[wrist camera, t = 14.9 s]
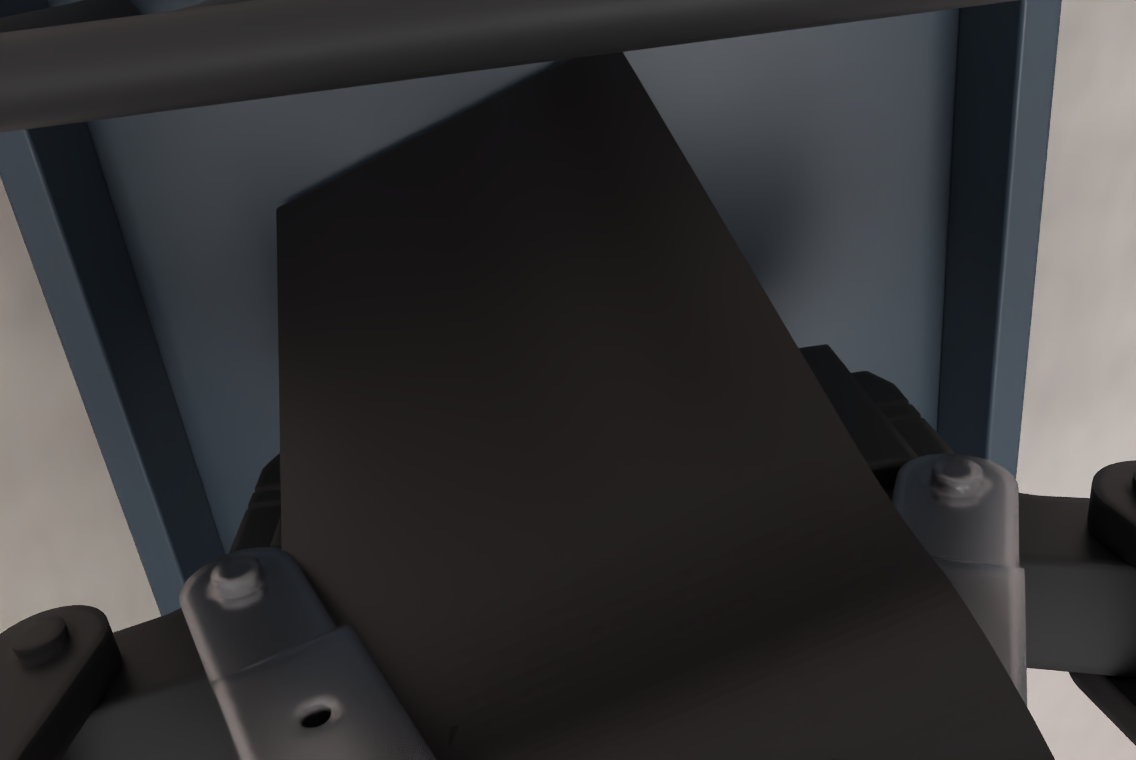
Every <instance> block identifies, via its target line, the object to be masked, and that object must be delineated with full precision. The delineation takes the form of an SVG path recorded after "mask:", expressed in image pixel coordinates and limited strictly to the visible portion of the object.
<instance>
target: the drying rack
mask: <svg viewBox="0 0 1136 760" xmlns="http://www.w3.org/2000/svg"><path fill="white" fill-rule="evenodd" d="M1061 2H1062V0H0V176H1V179H2V182H3V185H4V187H5V190H6V193H7V196H8V198H9V201H10V204H11V206H12V209H13V212H14V215H15V217H16V220H17V223H18V226H19V228H20V231H21V234H22V237H23V239H24V242H25V245H26V247H27V250H28V253H29V256H30V258H31V261H32V264H33V267H34V269H35V272H36V275H37V277H38V280H39V283H40V286H41V288H42V291H43V294H44V297H45V299H46V302H47V305H48V308H49V310H50V313H51V316H52V318H53V321H54V324H55V327H56V329H57V332H58V335H59V338H60V340H61V343H62V346H63V348H64V351H65V354H66V357H67V359H68V362H69V365H70V368H71V370H72V373H73V376H74V379H75V381H76V384H77V387H78V389H79V392H80V395H81V398H82V400H83V403H84V406H85V409H86V411H87V414H88V417H89V419H90V422H91V425H92V428H93V430H94V433H95V436H96V439H97V441H98V444H99V447H100V450H101V452H102V455H103V458H104V460H105V463H106V466H107V469H108V471H109V474H110V477H111V480H112V482H113V485H114V488H115V490H116V493H117V496H118V499H119V501H120V504H121V507H122V510H123V512H124V515H125V518H126V521H127V523H128V526H129V529H130V531H131V534H132V537H133V540H134V542H135V545H136V548H137V551H138V553H139V556H140V559H141V562H142V564H143V567H144V570H145V572H146V575H147V578H148V581H149V583H150V586H151V589H152V592H153V594H154V597H155V600H156V602H157V605H158V608H159V611H160V613H161V616H164V615H166V614H169V613H171V612H173V611H175V610H178V609H180V608H181V606H180V601H179V596H180V591H181V589H182V587H183V585H184V584H185V582H186V581H187V580H188V579H189V578H190V577H191V575H192V574H194V573H195V572H196V571H197V570H198V569H200V568H201V567H203V566H204V565H206V564H207V563H209V562H211V561H213V560H215V559H217V558H219V557H221V556H224V555H226V554H229V552H230V549H231V547H232V544H233V542H234V539H235V537H236V534H237V532H238V529H239V527H240V524H241V522H242V519H243V517H244V514H245V512H246V510H248V504H249V502H250V499H251V497H252V494H253V493H255V487H256V484H257V482H258V479H259V477H260V474H261V472H262V469H263V468H264V467H265V466H266V465H267V464H268V463H269V462H270V461H271V460H272V459H274V458H275V457H276V456H277V455H278V454H279V453H280V419H279V355H278V292H277V228H276V209H277V208H278V207H280V206H282V205H284V204H286V203H288V202H290V201H292V200H294V199H296V198H298V197H300V196H302V195H304V194H306V193H307V192H309V191H311V190H313V189H315V188H317V187H319V186H321V185H323V184H325V183H327V182H329V181H331V180H333V179H335V178H337V177H339V176H341V175H343V174H345V173H347V172H349V171H351V170H353V169H354V168H356V167H358V166H360V165H362V164H364V163H366V162H368V161H370V160H372V159H374V158H376V157H378V156H380V155H382V154H384V153H386V152H388V151H390V150H392V149H394V148H396V147H398V146H400V145H402V144H403V143H405V142H407V141H409V140H411V139H413V138H415V137H417V136H419V135H421V134H423V133H425V132H427V131H429V130H431V129H433V128H435V127H437V126H439V125H441V124H443V123H445V122H447V121H449V120H451V119H452V118H454V117H456V116H458V115H460V114H462V113H464V112H466V111H468V110H470V109H472V108H474V107H476V106H478V105H480V104H482V103H484V102H486V101H488V100H490V99H492V98H494V97H496V96H498V95H499V94H501V93H503V92H505V91H507V90H509V89H511V88H513V87H515V86H517V85H519V84H521V83H523V82H525V81H527V80H529V79H531V78H533V77H535V76H537V75H539V74H541V73H543V72H545V71H547V70H548V69H550V68H552V67H554V66H556V65H558V64H560V63H562V62H564V61H566V60H568V59H572V58H579V57H587V56H595V55H602V54H610V53H618V52H623V53H624V55H625V56H626V58H627V60H628V61H629V63H630V65H631V66H632V68H633V70H634V71H635V73H636V75H637V76H638V78H639V80H640V82H641V83H642V85H643V87H644V88H645V90H646V92H647V93H648V95H649V97H650V98H651V100H652V102H653V103H654V105H655V107H656V108H657V110H658V112H659V114H660V115H661V117H662V119H663V120H664V122H665V124H666V125H667V127H668V129H669V130H670V132H671V134H672V135H673V137H674V139H675V141H676V142H677V144H678V146H679V147H680V149H681V151H682V152H683V154H684V156H685V157H686V159H687V161H688V162H689V164H690V166H691V168H692V169H693V171H694V173H695V174H696V176H697V178H698V179H699V181H700V183H701V184H702V186H703V188H704V189H705V191H706V193H707V195H708V196H709V198H710V200H711V201H712V203H713V205H714V206H715V208H716V210H717V211H718V213H719V215H720V216H721V218H722V220H723V222H724V223H725V225H726V227H727V228H728V230H729V232H730V233H731V235H732V237H733V238H734V240H735V242H736V243H737V245H738V247H739V249H740V250H741V252H742V254H743V255H744V257H745V259H746V260H747V262H748V264H749V265H750V267H751V269H752V270H753V272H754V274H755V276H756V277H757V279H758V281H759V282H760V284H761V286H762V287H763V289H764V291H765V292H766V294H767V296H768V297H769V299H770V301H771V303H772V304H773V306H774V308H775V309H776V311H777V313H778V314H779V316H780V318H781V319H782V321H783V323H784V324H785V326H786V328H787V330H788V331H789V333H790V335H791V336H792V338H793V340H794V341H795V343H796V345H797V346H798V348H801V347H809V346H816V345H824V344H827V345H829V346H830V347H831V349H832V350H833V351H834V352H835V354H836V355H837V356H838V357H839V358H840V360H841V361H842V362H843V363H844V365H845V366H846V367H847V368H848V370H849V371H850V372H851V373H853V372H860V371H869V372H871V373H873V374H875V375H877V376H879V377H881V378H883V379H885V380H887V381H889V382H891V383H894V384H895V386H896V387H897V388H898V389H899V390H900V391H901V392H902V394H903V395H904V396H905V397H906V398H907V399H908V400H909V404H912V405H913V406H914V407H915V408H916V409H917V411H918V412H919V413H920V414H921V418H924V419H925V420H926V421H927V422H928V423H929V424H930V425H931V427H932V428H933V429H934V430H935V431H936V432H937V433H938V435H939V436H940V437H941V438H942V439H943V440H944V441H945V443H946V444H947V445H948V446H949V447H950V448H951V449H952V451H953V452H954V453H956V454H965V455H971V456H976V457H980V458H983V459H987V460H989V461H992V462H994V463H996V464H998V465H1000V466H1002V467H1004V468H1005V469H1006V470H1008V471H1009V472H1010V473H1011V474H1012V475H1013V476H1014V477H1015V479H1016V472H1017V462H1018V451H1019V441H1020V431H1021V420H1022V410H1023V399H1024V389H1025V378H1026V368H1027V357H1028V347H1029V337H1030V326H1031V316H1032V305H1033V295H1034V284H1035V274H1036V263H1037V253H1038V242H1039V232H1040V222H1041V211H1042V201H1043V190H1044V180H1045V169H1046V159H1047V148H1048V138H1049V127H1050V117H1051V107H1052V96H1053V86H1054V75H1055V65H1056V54H1057V44H1058V33H1059V23H1060V12H1061Z"/></svg>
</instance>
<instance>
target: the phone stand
mask: <svg viewBox="0 0 1136 760" xmlns="http://www.w3.org/2000/svg"><path fill="white" fill-rule="evenodd" d="M276 228H277V292H278V355H279V419H280V482H281V546H282V550H283V551H286V552H288V553H289V554H291V555H292V556H293V557H294V559H295V560H296V562H297V563H298V565H299V567H300V568H301V570H302V571H303V573H304V575H305V576H306V578H307V580H308V581H309V583H310V584H311V586H312V588H313V589H314V591H315V593H316V594H317V596H318V597H319V599H320V601H321V602H322V604H323V606H324V607H325V609H326V611H327V612H328V614H329V615H330V617H331V619H332V620H333V622H334V624H335V625H336V627H340V626H342V625H344V624H349V625H350V626H351V627H352V628H353V629H354V631H355V632H356V634H357V635H358V637H359V638H360V640H361V641H362V643H363V645H364V646H365V648H366V649H367V651H368V652H369V654H370V656H371V657H372V659H373V660H374V662H375V663H376V665H377V667H378V668H379V670H380V671H381V673H382V674H383V676H384V678H385V679H386V681H387V682H388V684H389V685H390V687H391V689H392V690H393V692H394V693H395V695H396V696H397V698H398V699H399V701H400V703H401V704H402V706H403V707H404V709H405V710H406V712H407V714H408V715H409V717H410V718H411V720H412V721H413V723H414V725H415V726H416V728H417V729H418V731H419V732H420V734H421V736H422V737H423V739H424V740H425V742H426V743H427V745H428V747H429V748H430V750H431V751H432V753H433V754H434V756H435V757H436V759H437V760H443V759H448V760H449V759H452V760H831V759H833V758H834V759H839V760H1055V759H1054V757H1053V755H1052V753H1051V751H1050V749H1049V747H1048V746H1047V744H1046V742H1045V740H1044V738H1043V736H1042V734H1041V732H1040V730H1039V729H1038V727H1037V725H1036V723H1035V721H1034V719H1033V717H1032V716H1031V714H1030V712H1029V710H1028V708H1027V706H1026V705H1025V703H1024V701H1023V699H1022V697H1021V696H1020V694H1019V692H1018V690H1017V688H1016V687H1015V685H1014V683H1013V681H1012V680H1011V678H1010V676H1009V674H1008V673H1007V671H1006V669H1005V667H1004V666H1003V664H1002V662H1001V661H1000V659H999V657H998V656H997V654H996V652H995V650H994V649H993V647H992V645H991V644H990V642H989V640H988V639H987V637H986V636H985V634H984V632H983V631H982V629H981V627H980V626H979V624H978V623H977V621H976V619H975V618H974V616H973V615H972V613H971V612H970V610H969V609H968V607H967V605H966V604H965V602H964V601H963V599H962V598H961V596H960V595H959V593H958V592H957V590H956V589H955V588H954V586H953V585H952V583H951V582H950V580H949V579H948V578H947V576H946V575H945V573H944V572H943V571H942V569H941V568H940V567H939V565H938V564H937V563H936V562H935V560H934V559H933V558H932V557H931V555H930V554H929V553H928V552H927V550H926V549H925V548H924V547H923V545H922V544H921V543H920V541H919V540H918V539H917V537H916V536H915V534H914V533H913V532H912V530H911V529H910V528H909V526H908V525H907V523H906V522H905V521H904V519H903V518H902V516H901V515H900V513H899V512H898V510H897V509H896V507H895V506H894V504H893V503H892V501H891V500H890V498H889V497H888V495H887V494H886V492H885V491H884V489H883V488H882V486H881V485H880V483H879V482H878V480H877V478H876V477H875V475H874V474H873V472H872V470H871V469H870V467H869V466H868V464H867V462H866V461H865V459H864V457H863V456H862V454H861V453H860V451H859V449H858V448H857V446H856V444H855V443H854V441H853V439H852V437H851V436H850V434H849V432H848V431H847V429H846V427H845V426H844V424H843V422H842V421H841V419H840V417H839V416H838V414H837V412H836V411H835V409H834V407H833V405H832V404H831V402H830V400H829V399H828V397H827V395H826V394H825V392H824V390H823V389H822V387H821V385H820V384H819V382H818V380H817V378H816V377H815V375H814V373H813V372H812V370H811V368H810V367H809V365H808V363H807V362H806V360H805V358H804V357H803V355H802V353H801V351H800V350H799V348H798V346H797V345H796V343H795V341H794V340H793V338H792V336H791V335H790V333H789V331H788V330H787V328H786V326H785V324H784V323H783V321H782V319H781V318H780V316H779V314H778V313H777V311H776V309H775V308H774V306H773V304H772V303H771V301H770V299H769V297H768V296H767V294H766V292H765V291H764V289H763V287H762V286H761V284H760V282H759V281H758V279H757V277H756V276H755V274H754V272H753V270H752V269H751V267H750V265H749V264H748V262H747V260H746V259H745V257H744V255H743V254H742V252H741V250H740V249H739V247H738V245H737V243H736V242H735V240H734V238H733V237H732V235H731V233H730V232H729V230H728V228H727V227H726V225H725V223H724V222H723V220H722V218H721V216H720V215H719V213H718V211H717V210H716V208H715V206H714V205H713V203H712V201H711V200H710V198H709V196H708V195H707V193H706V191H705V189H704V188H703V186H702V184H701V183H700V181H699V179H698V178H697V176H696V174H695V173H694V171H693V169H692V168H691V166H690V164H689V162H688V161H687V159H686V157H685V156H684V154H683V152H682V151H681V149H680V147H679V146H678V144H677V142H676V141H675V139H674V137H673V135H672V134H671V132H670V130H669V129H668V127H667V125H666V124H665V122H664V120H663V119H662V117H661V115H660V114H659V112H658V110H657V108H656V107H655V105H654V103H653V102H652V100H651V98H650V97H649V95H648V93H647V92H646V90H645V88H644V87H643V85H642V83H641V82H640V80H639V78H638V76H637V75H636V73H635V71H634V70H633V68H632V66H631V65H630V63H629V61H628V60H627V58H626V56H625V55H624V53H623V52H618V53H610V54H602V55H595V56H587V57H579V58H572V59H568V60H566V61H564V62H562V63H560V64H558V65H556V66H554V67H552V68H550V69H548V70H547V71H545V72H543V73H541V74H539V75H537V76H535V77H533V78H531V79H529V80H527V81H525V82H523V83H521V84H519V85H517V86H515V87H513V88H511V89H509V90H507V91H505V92H503V93H501V94H499V95H498V96H496V97H494V98H492V99H490V100H488V101H486V102H484V103H482V104H480V105H478V106H476V107H474V108H472V109H470V110H468V111H466V112H464V113H462V114H460V115H458V116H456V117H454V118H452V119H451V120H449V121H447V122H445V123H443V124H441V125H439V126H437V127H435V128H433V129H431V130H429V131H427V132H425V133H423V134H421V135H419V136H417V137H415V138H413V139H411V140H409V141H407V142H405V143H403V144H402V145H400V146H398V147H396V148H394V149H392V150H390V151H388V152H386V153H384V154H382V155H380V156H378V157H376V158H374V159H372V160H370V161H368V162H366V163H364V164H362V165H360V166H358V167H356V168H354V169H353V170H351V171H349V172H347V173H345V174H343V175H341V176H339V177H337V178H335V179H333V180H331V181H329V182H327V183H325V184H323V185H321V186H319V187H317V188H315V189H313V190H311V191H309V192H307V193H306V194H304V195H302V196H300V197H298V198H296V199H294V200H292V201H290V202H288V203H286V204H284V205H282V206H280V207H278V208H277V209H276ZM457 725H459V728H458V732H457V734H456V736H455V738H454V740H453V742H452V744H451V746H450V748H449V733H450V726H457Z"/></svg>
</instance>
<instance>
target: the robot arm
mask: <svg viewBox="0 0 1136 760" xmlns="http://www.w3.org/2000/svg"><path fill="white" fill-rule="evenodd" d="M799 350H800V351H801V353H802V355H803V357H804V358H805V360H806V362H807V363H808V365H809V367H810V368H811V370H812V372H813V373H814V375H815V377H816V378H817V380H818V382H819V384H820V385H821V387H822V389H823V390H824V392H825V394H826V395H827V397H828V399H829V400H830V402H831V404H832V405H833V407H834V409H835V411H836V412H837V414H838V416H839V417H840V419H841V421H842V422H843V424H844V426H845V427H846V429H847V431H848V432H849V434H850V436H851V437H852V439H853V441H854V443H855V444H856V446H857V448H858V449H859V451H860V453H861V454H862V456H863V457H864V459H865V461H866V462H867V464H868V466H869V467H870V469H871V470H872V472H873V474H874V475H875V477H876V478H877V480H878V482H879V483H880V485H881V486H882V488H883V489H884V491H885V492H886V494H887V495H888V497H889V498H890V500H891V501H892V503H893V504H894V506H895V507H896V509H897V510H898V512H899V513H900V515H901V516H902V518H903V519H904V521H905V522H906V523H907V525H908V526H909V528H910V529H911V530H912V532H913V533H914V534H915V536H916V537H917V539H918V540H919V541H920V543H921V544H922V545H923V547H924V548H925V549H926V550H927V552H928V553H929V554H930V555H931V557H932V558H933V559H934V560H935V562H936V563H937V564H938V565H939V567H940V568H941V569H942V571H943V572H944V573H945V575H946V576H947V578H948V579H949V580H950V582H951V583H952V585H953V586H954V588H955V589H956V590H957V592H958V593H959V595H960V596H961V598H962V599H963V601H964V602H965V604H966V605H967V607H968V609H969V610H970V612H971V613H972V615H973V616H974V618H975V619H976V621H977V623H978V624H979V626H980V627H981V629H982V631H983V632H984V634H985V636H986V637H987V639H988V640H989V642H990V644H991V645H992V647H993V649H994V650H995V652H996V654H997V656H998V657H999V659H1000V661H1001V662H1002V664H1003V666H1004V667H1005V669H1006V671H1007V673H1008V674H1009V676H1010V678H1011V680H1012V681H1013V683H1014V685H1015V687H1016V688H1017V690H1018V692H1019V694H1020V696H1021V697H1022V699H1023V701H1024V703H1025V705H1026V706H1027V676H1026V668H1035V669H1046V670H1056V671H1067V672H1069V674H1070V676H1071V678H1072V679H1073V681H1074V682H1075V684H1076V685H1077V686H1078V687H1079V688H1080V689H1081V690H1082V691H1083V692H1084V693H1085V694H1086V696H1087V697H1088V698H1089V699H1090V700H1091V701H1092V702H1093V703H1094V704H1095V705H1096V706H1097V707H1098V708H1099V709H1100V710H1101V711H1102V712H1103V713H1104V714H1105V715H1106V716H1107V717H1108V718H1109V719H1110V720H1111V721H1112V722H1113V723H1114V724H1115V725H1116V726H1117V727H1118V728H1119V729H1120V730H1121V731H1122V732H1123V733H1124V734H1125V735H1126V736H1127V737H1128V738H1129V739H1130V740H1131V741H1132V742H1133V743H1134V744H1135V745H1136V461H1125V462H1119V463H1115V464H1111V465H1108V466H1106V467H1104V468H1102V469H1101V470H1099V471H1098V472H1097V473H1096V474H1095V476H1094V478H1093V481H1092V487H1091V495H1090V498H1073V497H1052V496H1038V495H1029V494H1023V493H1018V483H1017V481H1016V479H1015V477H1014V476H1013V475H1012V474H1011V473H1010V472H1009V471H1008V470H1006V469H1005V468H1004V467H1002V466H1000V465H998V464H996V463H994V462H992V461H989V460H987V459H983V458H980V457H976V456H971V455H965V454H956V453H954V452H953V451H952V449H951V448H950V447H949V446H948V445H947V444H946V443H945V441H944V440H943V439H942V438H941V437H940V436H939V435H938V433H937V432H936V431H935V430H934V429H933V428H932V427H931V425H930V424H929V423H928V422H927V421H926V420H925V419H924V418H921V414H920V413H919V412H918V411H917V409H916V408H915V407H914V406H913V405H912V404H909V400H908V399H907V398H906V397H905V396H904V395H903V394H902V392H901V391H900V390H899V389H898V388H897V387H896V386H895V384H894V383H891V382H889V381H887V380H885V379H883V378H881V377H879V376H877V375H875V374H873V373H871V372H869V371H860V372H853V373H851V372H850V371H849V370H848V368H847V367H846V366H845V365H844V363H843V362H842V361H841V360H840V358H839V357H838V356H837V355H836V354H835V352H834V351H833V350H832V349H831V347H830V346H829V345H827V344H824V345H816V346H809V347H801V348H799ZM179 601H180V606H181V608H180V609H178V610H175V611H173V612H171V613H169V614H166V615H164V616H161V617H159V618H156V619H153V620H150V621H147V622H144V623H141V624H138V625H135V626H132V627H129V628H126V629H123V630H120V631H117V632H114V633H113V632H112V630H111V627H110V625H109V622H108V620H107V617H106V616H105V614H104V613H103V612H102V611H100V610H99V609H97V608H94V607H91V606H84V605H72V606H64V607H59V608H54V609H51V610H47V611H44V612H41V613H38V614H36V615H33V616H31V617H29V618H27V619H24V620H22V621H20V622H19V623H17V624H15V625H13V626H12V627H10V628H8V629H7V630H6V631H4V632H3V633H1V634H0V760H437V759H436V757H435V756H434V754H433V753H432V751H431V750H430V748H429V747H428V745H427V743H426V742H425V740H424V739H423V737H422V736H421V734H420V732H419V731H418V729H417V728H416V726H415V725H414V723H413V721H412V720H411V718H410V717H409V715H408V714H407V712H406V710H405V709H404V707H403V706H402V704H401V703H400V701H399V699H398V698H397V696H396V695H395V693H394V692H393V690H392V689H391V687H390V685H389V684H388V682H387V681H386V679H385V678H384V676H383V674H382V673H381V671H380V670H379V668H378V667H377V665H376V663H375V662H374V660H373V659H372V657H371V656H370V654H369V652H368V651H367V649H366V648H365V646H364V645H363V643H362V641H361V640H360V638H359V637H358V635H357V634H356V632H355V631H354V629H353V628H352V627H351V626H350V625H349V624H344V625H342V626H340V627H336V625H335V624H334V622H333V620H332V619H331V617H330V615H329V614H328V612H327V611H326V609H325V607H324V606H323V604H322V602H321V601H320V599H319V597H318V596H317V594H316V593H315V591H314V589H313V588H312V586H311V584H310V583H309V581H308V580H307V578H306V576H305V575H304V573H303V571H302V570H301V568H300V567H299V565H298V563H297V562H296V560H295V559H294V557H293V556H292V555H291V554H289V553H288V552H286V551H283V550H282V546H281V482H280V453H279V454H278V455H277V456H276V457H275V458H274V459H272V460H271V461H270V462H269V463H268V464H267V465H266V466H265V467H264V468H263V469H262V472H261V474H260V477H259V479H258V482H257V484H256V487H255V493H253V494H252V497H251V499H250V502H249V504H248V510H246V512H245V514H244V517H243V519H242V522H241V524H240V527H239V529H238V532H237V534H236V537H235V539H234V542H233V544H232V547H231V549H230V552H229V554H226V555H224V556H221V557H219V558H217V559H215V560H213V561H211V562H209V563H207V564H206V565H204V566H203V567H201V568H200V569H198V570H197V571H196V572H195V573H194V574H192V575H191V577H190V578H189V579H188V580H187V581H186V582H185V584H184V585H183V587H182V589H181V591H180V596H179ZM458 728H459V725H457V726H450V733H449V748H450V746H451V744H452V742H453V740H454V738H455V736H456V734H457V732H458ZM443 760H448V759H443ZM449 760H452V759H449ZM831 760H839V759H834V758H833V759H831Z"/></svg>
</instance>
